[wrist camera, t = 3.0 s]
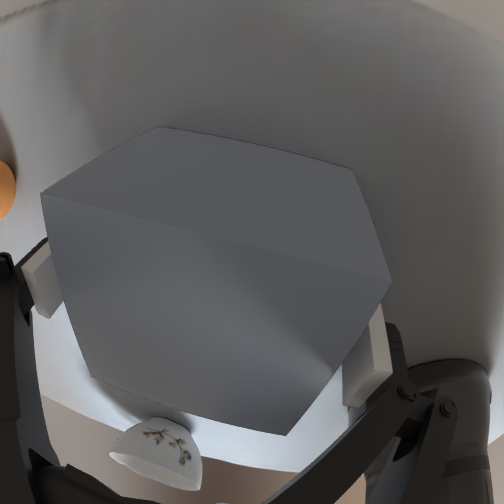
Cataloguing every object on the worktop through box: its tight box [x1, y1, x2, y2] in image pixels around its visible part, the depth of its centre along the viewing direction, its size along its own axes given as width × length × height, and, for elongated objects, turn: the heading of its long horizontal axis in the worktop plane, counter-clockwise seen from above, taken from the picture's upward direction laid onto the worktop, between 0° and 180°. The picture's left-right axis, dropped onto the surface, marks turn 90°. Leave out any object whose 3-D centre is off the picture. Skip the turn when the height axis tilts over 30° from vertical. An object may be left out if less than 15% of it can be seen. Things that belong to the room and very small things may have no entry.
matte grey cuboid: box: [40, 127, 392, 436], centre depth 14 cm, size 10×10×9 cm
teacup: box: [109, 417, 202, 491], centre depth 34 cm, size 15×12×8 cm
